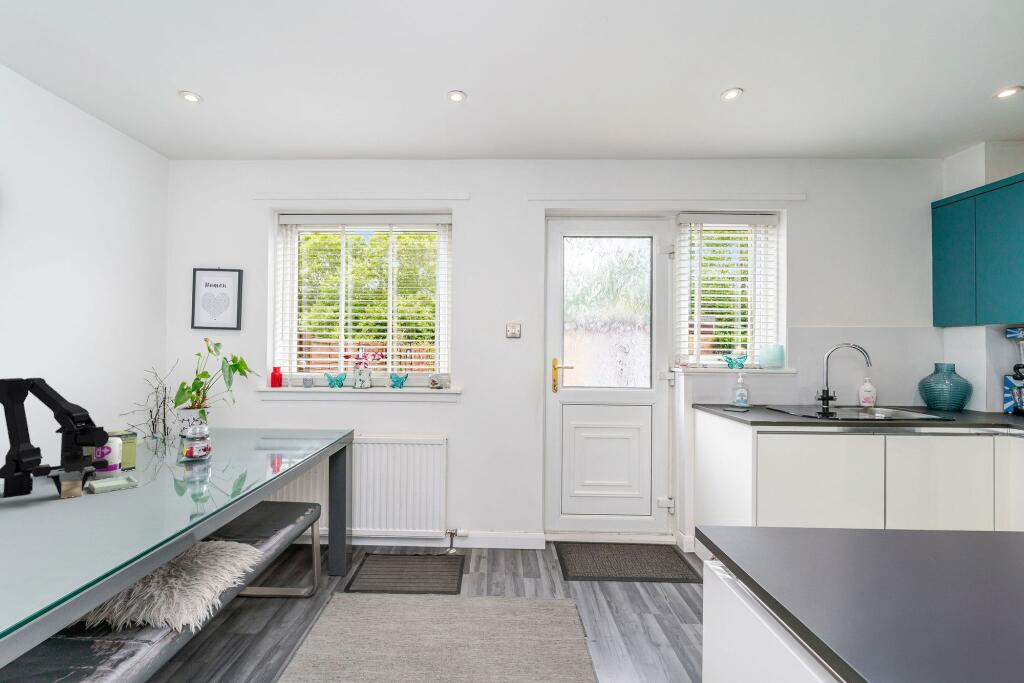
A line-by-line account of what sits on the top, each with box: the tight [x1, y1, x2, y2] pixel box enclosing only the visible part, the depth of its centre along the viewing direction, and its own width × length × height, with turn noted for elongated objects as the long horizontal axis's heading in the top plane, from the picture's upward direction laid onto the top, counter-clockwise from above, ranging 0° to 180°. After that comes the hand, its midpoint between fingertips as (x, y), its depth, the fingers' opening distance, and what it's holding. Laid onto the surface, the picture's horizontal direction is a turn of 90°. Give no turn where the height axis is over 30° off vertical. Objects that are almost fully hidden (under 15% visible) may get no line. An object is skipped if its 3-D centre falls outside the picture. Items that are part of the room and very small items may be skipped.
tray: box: [88, 475, 139, 494], centre depth 177 cm, size 12×12×2 cm
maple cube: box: [59, 478, 83, 499], centre depth 166 cm, size 5×5×5 cm
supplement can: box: [92, 437, 122, 480], centre depth 190 cm, size 8×8×15 cm
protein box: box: [79, 429, 138, 478], centre depth 199 cm, size 10×16×16 cm
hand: (70, 492), depth 166 cm, fingers closed on maple cube, 5 cm apart
